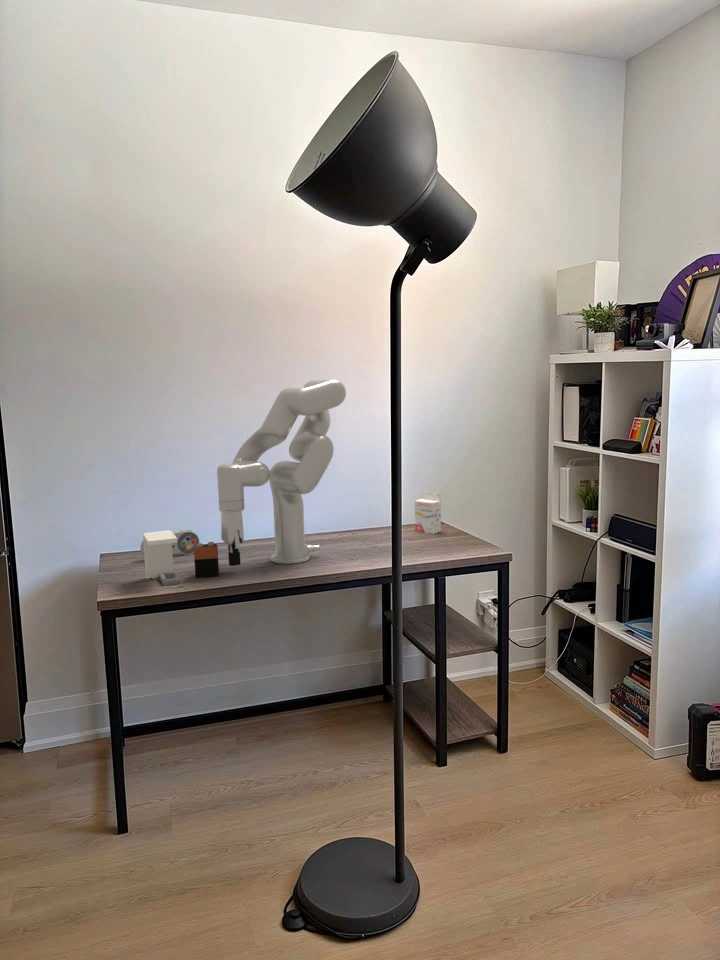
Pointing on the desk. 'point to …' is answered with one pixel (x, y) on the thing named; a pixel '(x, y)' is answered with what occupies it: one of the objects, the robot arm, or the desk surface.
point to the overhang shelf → (159, 556)
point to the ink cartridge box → (428, 513)
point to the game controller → (182, 542)
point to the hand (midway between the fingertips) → (234, 564)
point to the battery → (206, 560)
